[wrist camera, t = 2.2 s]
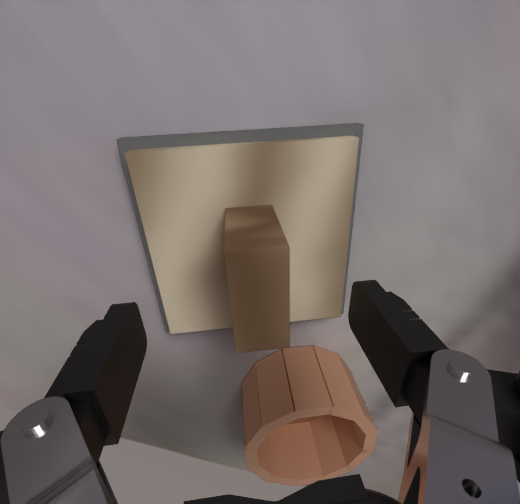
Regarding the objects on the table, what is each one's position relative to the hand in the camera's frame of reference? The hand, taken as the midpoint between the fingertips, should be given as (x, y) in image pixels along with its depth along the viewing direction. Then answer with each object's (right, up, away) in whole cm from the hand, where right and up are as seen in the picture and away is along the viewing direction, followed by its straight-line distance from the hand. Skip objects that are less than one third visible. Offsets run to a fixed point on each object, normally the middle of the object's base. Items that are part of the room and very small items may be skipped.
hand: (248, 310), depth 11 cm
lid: (0, +3, +6) cm, 7 cm away
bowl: (+4, -9, +13) cm, 16 cm away
